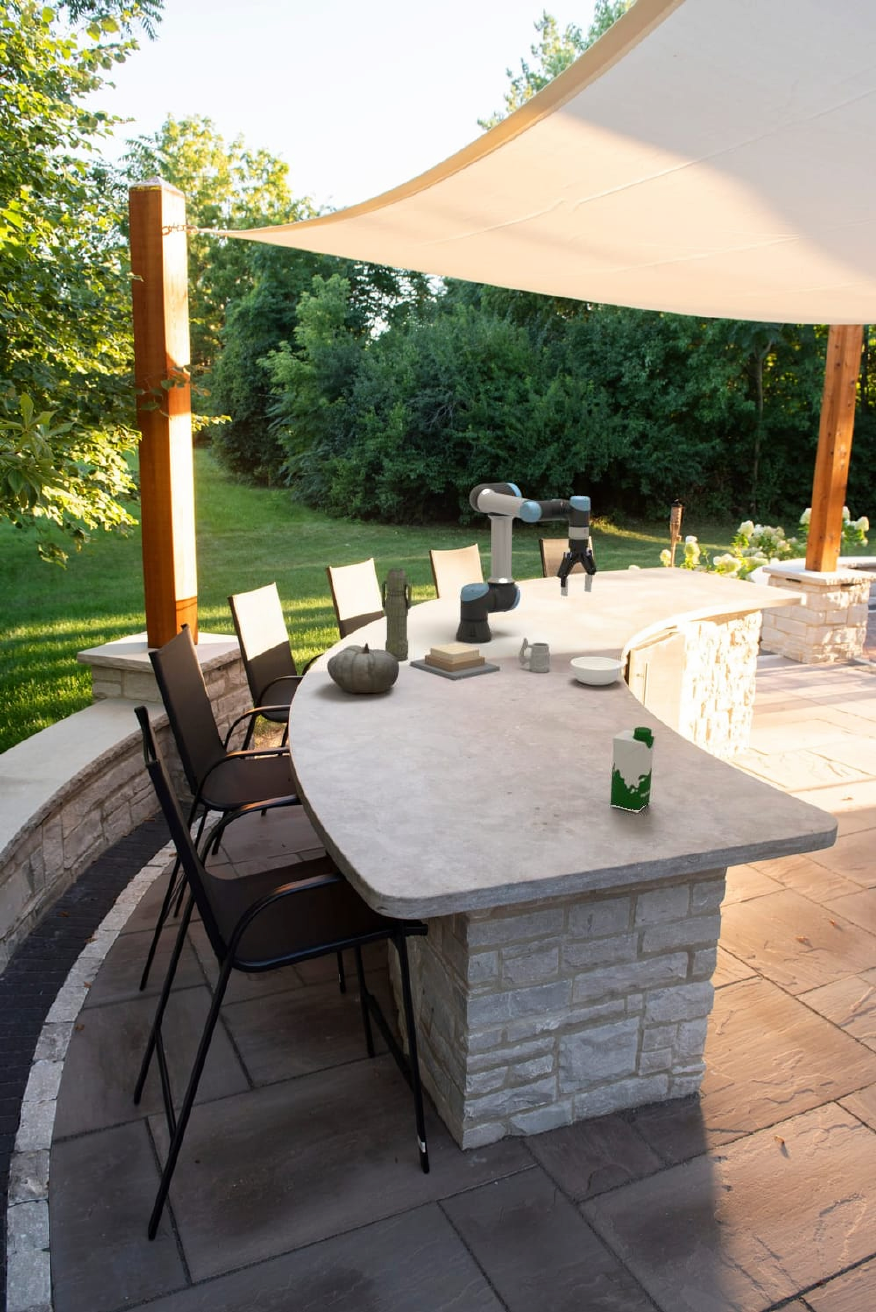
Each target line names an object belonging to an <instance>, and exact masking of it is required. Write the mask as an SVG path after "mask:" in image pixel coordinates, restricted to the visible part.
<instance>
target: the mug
mask: <svg viewBox="0 0 876 1312" xmlns="http://www.w3.org/2000/svg"><path fill="white" fill-rule="evenodd" d="M528 648H529V649H530V648H531V651H530V657H528V658H526V657H525V651H526V650H527V649H528ZM550 654H551V652H550V645H549V644H548V643H547V642H533V643H531V644H530V643H529V640H528V639H527V637H523V641H522V644H521V647H520V650H519V653H518V656H519V663H520V664H521V666H523V667H524V666H525V665H526V664H528V663H529V667H528V668H529V671H530V672H533V673H541V674H542V673H547V672H549V671H550V669H551V665H550Z"/></svg>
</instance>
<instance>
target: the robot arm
mask: <svg viewBox="0 0 876 1312" xmlns="http://www.w3.org/2000/svg"><path fill="white" fill-rule="evenodd" d="M469 504H470V506H471V508H472V509H473V510H475V511H476V512H478V513H483V514H484V513H486V514H487V517H488V518H489V519H490V520H491V525H490V526H491V533H490V534H491V536H490V537H491V538H490V543H491V545H490V548H491V550H490V555H491V556H490V561H491V562H490V577H489V578H488V579H487V580H486V581H487V583H484V582H475V583H468V584H465V585H463V586H462V587H461V590H460V595H459V599H460V604H459V605H460V609H459V611H460V612H459V614H460V615H459V617H460V618H459V619H460V620H459V624H458V628H457V631H456V633H455V640H456V641H457V642H460V643H463V644H464V643H465V644H483V643H490V642H491V641H492V633H491V628H490V625H489V614H495V613H507V612H509V611H512V610H515V609H516V608H517V606H518V605H519V603H520V602H521V601H520V600H521V591H520V589H519V585H517V584H516V582H515V581H516V580H515V579H514V578H513V577H512V554H513V553H512V549H513V547H512V545H513V541H512V539H513V538H512V537H513V520H514V518H518V519H521V520H522V521H524V522H525V523H535V522H543V521H544V522H545V521H547V522H549V521H568V523H569V525H568V537H569V538H568V543H567V545H568V546H567V548H569V552H568V551H564V552H563V555H562V556H563V557H562V560H561V562H560V566H559V568H558V571H557V574H556V577H557V578H558V579H560V596H562V597H568V596H569V595H568V594H569V578H568V577H569V575H570V573H571V571H572V569H573V568H574V566H575V565H576V564H578V563H579V564H581V565H582V567H583V569H584V572H586V574H585V575H584V592H588V593H591V592H592V583H593V576H595V575H596V573H597V572H598V571H597V566H596V563H595V560H594V556H593V549H589V541H590V540H589V536H590V535H589V534H590V521H591V520H590V519H591V518H590V517H591V498H590V497H589V496H583V495H582V496H581V495H577V496H576V495H574V496H571V497H570V499H569V500H566V499H562V498H557V499H556V498H554V499H551V500H532V499H528V498H523V497H522V493H521V490H520V489H519V488H518V486H517V485H515V484H514V483H510V482H496V483H482V484H479V485H477V486H475V487H474V488H473V489H472V490H471V492H470V494H469Z"/></svg>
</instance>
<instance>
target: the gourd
mask: <svg viewBox="0 0 876 1312" xmlns="http://www.w3.org/2000/svg"><path fill="white" fill-rule="evenodd" d="M326 668H327V672H328V674H329V676H330V678H331V679H332V681H334V683H335V684H336V685H337V686H339V687H340V688H341V689H342V690H344V691H346V692H348V693H351V694H352V693H353V694H358V693H362V694H367V693H371V694H374V693H376V694H377V693H379V694H380V693H382V692H384V691H387V690H388V689H391V687H393V686H394V684H396V682H397V680H398V677H399V673H400V663H399V662H398V661H397V659H396V658H395V657H394V656H393V655H392V654H391V653H389V652H387V651H385V649H379V648H376V649H374V648H373V649H371V648H370V647H369V643H368V642H365V645H364V646H360V645H357V644H356V645H355V644H354V645H348V646H346V647H345V648H343V649H342V650H340V651H339V652H337V654H335V655H334V656H331V657H330V658H329V659H328V661H327V665H326Z"/></svg>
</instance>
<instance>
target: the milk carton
mask: <svg viewBox="0 0 876 1312" xmlns="http://www.w3.org/2000/svg"><path fill="white" fill-rule="evenodd" d="M612 742H613V743H612V748H613V751H612V765H611V766H612V768H611V785H610V787H611V788H610V789H611V790H610V806H611V805H616V806H620V807H623V808H627V809H631V810H632V809H633V810H640V809H641V808H642V807H643V806H645V805H647V804H648V803H649V804H650V796H651V788H652V787H651V784H652V771H653V758H654V757H653V756H654V749H655V743H656V734H652V729H651V728H648V727H644V726H638V727H634V730H630V729H624V730H622V731H621V732H619V733H618V734H616V735H615V736H613V737H612ZM647 806H648V805H647Z"/></svg>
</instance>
